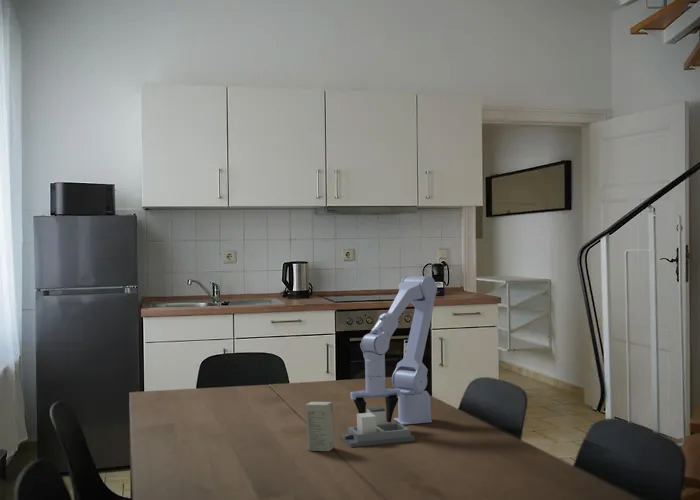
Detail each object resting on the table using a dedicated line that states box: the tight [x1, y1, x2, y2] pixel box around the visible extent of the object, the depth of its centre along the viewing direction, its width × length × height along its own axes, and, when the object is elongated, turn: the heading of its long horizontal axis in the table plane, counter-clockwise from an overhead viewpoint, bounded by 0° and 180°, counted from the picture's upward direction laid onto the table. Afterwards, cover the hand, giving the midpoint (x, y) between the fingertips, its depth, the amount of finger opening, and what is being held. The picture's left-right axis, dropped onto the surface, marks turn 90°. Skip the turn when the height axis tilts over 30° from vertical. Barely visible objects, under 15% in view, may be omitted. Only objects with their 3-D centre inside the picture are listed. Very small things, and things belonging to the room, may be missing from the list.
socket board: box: [340, 412, 416, 448], centre depth 207 cm, size 18×10×7 cm, turn 106°
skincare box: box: [304, 401, 335, 452], centre depth 199 cm, size 6×4×12 cm
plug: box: [366, 405, 387, 425], centre depth 218 cm, size 4×5×6 cm
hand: (376, 422), depth 218 cm, fingers open, 7 cm apart
